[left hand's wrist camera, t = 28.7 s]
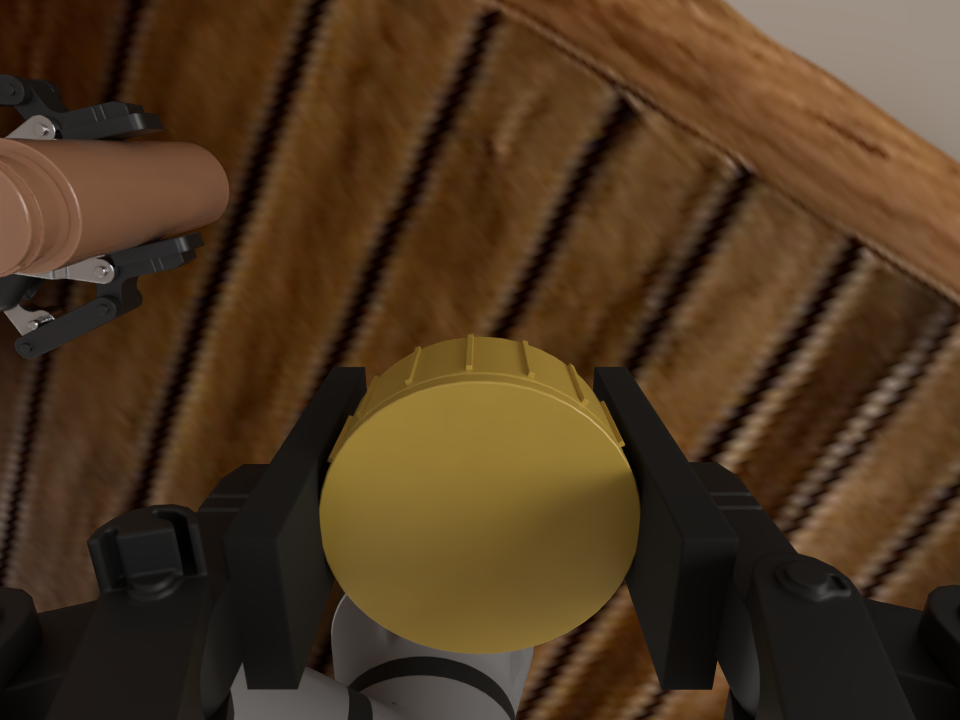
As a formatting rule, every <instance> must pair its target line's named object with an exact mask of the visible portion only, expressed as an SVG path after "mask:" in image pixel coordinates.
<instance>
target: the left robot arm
mask: <svg viewBox="0 0 960 720" xmlns="http://www.w3.org/2000/svg"><path fill="white" fill-rule="evenodd" d="M593 392H594V394H595V396H596V397H597V399H598V400H599V402H601V401H604V402H605V404H606V406H607V408H608V410H609V412H610V415H611V417H612V419H613V421H614V423H615V425H616V427H617V429H618V431H619V433H620V435H621V437H622V439H623V442H624V444H625V446H623V447H621V448H622V450H623V453H624V455H625V457H626V459H627V461H628V463H629V466H630V468H631V470H632V473H633V475H634V477H635V480H636V484H637V488H638V492H639V496H640V504H641V514H640V524H639V534H638V542H637V550H636V554H635V556H634V559H633V562H632V564H631V567H630V569H629V571H628V573H627V574H626V576H625V580H626V583H627V586H628V589H629V592H630V595H631V598H632V601H633V604H634V607H635V610H636V613H637V616H638V619H639V622H640V625H641V628H642V631H643V634H644V637H645V640H646V643H647V646H648V649H649V652H650V655H651V658H652V661H653V664H654V667H655V670H656V673H657V676H658V679H659V682H660V685H661V688H662V690H712V687H713V681H714V676H715V670H716V665H717V660H718V662H719V664H720V667H721V669H722V671H723V673H724V675H725V677H726V680H727V682H728V684H729V686H730V688H729V693H728V699H727V704H726V709H725V714H724V719H723V720H960V586H959V585H949V586H941V587H937V588H936V589H935V590H933V591H932V592H931V593H929V595H928V598H927V601H926V604H925V607H924V610H923V611H921V610H916V609H911V608H907V607H902V606H897V605H893V604H888V603H883V602H879V601H874V600H871V599H867V598H864V597H861V595H860V593H859V591H858V590H857V588H856V587H855V586H854V584H853V583H852V582H851V580H850V579H849V578H848V577H846V576H845V575H844V574H842V573H841V572H840V571H838V570H837V569H836V568H834V567H833V566H831V565H828V564H826V563H824V562H822V561H820V560H818V559H816V558H813V557H809V556H806V555H802V554H798V553H797V552H796V550H795V549H794V548H793V546H792V545H791V544H790V543H789V541H788V540H787V539H786V537H785V536H784V535H783V534H782V532H781V531H780V530H779V528H778V527H777V526H776V525H775V523H774V522H773V521H772V519H771V518H770V517H769V516H768V514H767V513H766V512H765V510H762V509H761V505H760V504H759V503H758V501H757V500H756V499H755V498H754V496H751V492H750V491H749V490H748V489H747V487H746V486H745V485H744V483H743V482H742V481H741V480H740V478H739V477H738V476H737V475H735V474H734V473H732V472H730V471H729V470H727V469H726V468H724V467H723V466H721V465H720V464H718V463H717V462H688V460H687V459H686V457H685V456H684V454H683V453H682V451H681V450H680V448H679V447H678V445H677V444H676V442H675V440H674V439H673V437H672V436H671V434H670V433H669V431H668V430H667V428H666V427H665V425H664V424H663V422H662V421H661V419H660V418H659V416H658V415H657V413H656V412H655V410H654V409H653V407H652V406H651V404H650V402H649V401H648V399H647V398H646V396H645V395H644V393H643V392H642V390H641V389H640V387H639V386H638V384H637V383H636V381H635V380H634V378H633V377H632V375H631V374H630V372H629V371H628V369H627V367H595V370H594V384H593ZM366 393H367V388H366V375H365V367H333V368H332V370H331V372H330V373H329V375H328V376H327V378H326V379H325V381H324V382H323V384H322V385H321V387H320V388H319V390H318V391H317V393H316V394H315V396H314V397H313V399H312V400H311V402H310V403H309V405H308V406H307V408H306V410H305V411H304V413H303V414H302V416H301V417H300V419H299V420H298V422H297V423H296V425H295V426H294V428H293V429H292V431H291V432H290V434H289V435H288V437H287V438H286V440H285V441H284V443H283V444H282V446H281V448H280V449H279V451H278V452H277V454H276V455H275V457H274V458H273V460H272V461H271V463H270V464H243V465H242V466H240V467H239V468H237V469H235V470H234V471H232V472H231V473H229V474H228V475H226V476H225V477H223V478H222V479H221V480H220V482H219V483H218V484H217V485H216V487H215V488H214V489H213V491H212V492H211V493H210V494H209V498H206V500H205V501H204V502H203V504H202V505H201V506H200V507H199V511H198V512H196V513H194V512H193V511H192V510H191V509H189V508H188V507H184V506H179V505H174V504H169V505H153V506H149V507H145V508H140V509H136V510H133V511H130V512H128V513H126V514H123V515H121V516H118V517H116V518H114V519H112V520H111V521H109V522H108V523H106V524H105V525H103V526H102V527H100V528H98V529H97V530H96V531H95V533H94V534H93V535H92V536H91V537H90V538H89V539H88V541H87V544H88V548H89V552H90V555H91V559H92V563H93V566H94V570H95V574H96V577H97V581H98V584H99V588H100V592H101V594H100V596H99V598H98V600H95V601H91V602H88V603H84V604H79V605H75V606H70V607H65V608H61V609H56V610H52V611H47V612H42V613H38V614H37V612H36V609H35V605H34V602H33V599H32V597H31V596H30V595H29V594H28V593H26V592H25V591H24V590H22V589H14V588H0V720H516V713H517V709H518V706H519V702H520V699H521V696H522V692H523V689H524V685H525V682H526V678H527V675H528V672H529V668H530V665H531V661H532V657H533V652H534V646H533V647H529V648H525V649H521V650H517V651H511V652H504V653H496V654H467V653H455V652H449V651H444V650H438V649H434V648H431V647H427V646H424V645H420V644H418V643H415V642H413V641H410V640H408V639H405V638H403V637H401V636H399V635H397V634H395V633H393V632H391V631H389V630H388V629H386V628H384V627H383V626H381V625H380V624H378V623H377V622H375V621H374V620H373V619H371V618H370V617H369V616H367V615H366V614H365V613H364V612H363V611H362V610H361V609H360V608H358V607H357V606H356V605H355V604H354V602H353V601H352V600H351V599H350V598H349V597H348V596H347V594H346V593H345V592H344V591H343V592H342V594H341V596H340V599H339V602H338V605H337V608H336V612H335V615H334V619H333V623H332V631H331V637H332V638H331V645H332V655H333V664H334V674H335V680H334V679H332V678H330V677H328V676H326V675H323V674H321V673H319V672H317V671H315V670H313V669H311V668H309V667H307V666H306V663H307V660H308V657H309V654H310V651H311V648H312V645H313V642H314V639H315V636H316V633H317V630H318V627H319V624H320V621H321V618H322V615H323V612H324V609H325V606H326V603H327V600H328V597H329V594H330V591H331V588H332V585H333V582H334V579H335V577H334V575H333V573H332V571H331V569H330V567H329V565H328V563H327V560H326V557H325V554H324V551H323V544H322V536H321V527H320V517H319V501H320V495H321V489H322V486H323V483H324V480H325V477H326V474H327V471H328V469H329V467H330V464H331V463H329V462H327V461H328V458H329V456H330V454H331V452H332V450H333V448H334V446H335V443H336V441H337V439H338V437H339V435H340V433H341V431H342V429H343V427H344V425H345V423H346V421H347V419H348V417H349V415H350V416H354V414H355V412H356V410H357V408H358V406H359V404H360V402H361V400H362V398H363V397H364V395H365V394H366Z"/></svg>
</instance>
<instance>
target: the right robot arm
mask: <svg viewBox="0 0 960 720" xmlns="http://www.w3.org/2000/svg"><path fill="white" fill-rule="evenodd" d="M60 100H61V96H60V92H59V90H58V88H57V87H56V86H55V85H54V84H53V83H52V82H50V81H46V80H39V79H25V78H20V77H18V76H13V75H4V74H0V106H11V107H15V108H16V109H17V110H18V112H19V113H20V114H21V115H22V117H23V118H24V119H25V120H26V122H25V123H23V124H22V125H21V126H20V127H18V128H17V129H16V130H14V131H13V132H12V133H11V134H9V135H8V136H7V137H5V138H28V139H83V140H124V139H129V138H133V137H137V136H142V135H146V134H151V133H155V132H159V131H163V130H164V129H163V127H162V124H161V121H160V118H159V115H158V114H150V113H144V110H143V107H142V106H140V105H135V104H130V103H122V102H114V101H112V102H108V103H104V104H99V105H95V106H90V107H86V108H82V109H77V110H73V111H69V110H68V109H67V108H66V107H65V106H64V105H63V104H62V102H61V101H60ZM201 246H204V242H203V239H202V237H201V234H200V232H195V233H190V234H185V235H181V236H176V237H171V238H166V239H162V240H157V241H154V242H150V243H147V244H144V245H140V246H137V247H133V248H130V249H127V250H123V251H120V252H116V253H113V254H109V255H106V256H103V257H99V258H96V259H92V260H89V261H86V262H82V263H79V264H75V265H72V266H68V267H65V268H62V269H58V270H55V271H51V272H48V273H44V274H37V275H25V274H18V273H16V274H10V275H8V276H4V277H0V312H3V311H4V313H5V314H6V315H7V316H8V318H9V319H10V320H11V322H12V323H13V324H14V326H15V327H16V328H17V330H18V331H19V332H20V333H21V335H22V336H21V337H19V338H17V339H16V341H15V349H16V351H17V352H18V354H19V355H21V356H22V357H24V358H27V359H33V358H35V357H38V356H40V355H42V354H44V353H46V352H48V351H50V350H52V349H54V348H56V347H59V346H61V345H63V344H65V343H67V342H69V341H71V340H73V339H75V338H77V337H79V336H81V335H83V334H85V333H87V332H89V331H91V330H93V329H95V328H97V327H99V326H101V325H103V324H105V323H107V322H109V321H111V320H113V319H115V318H117V317H119V316H121V315H123V314H125V313H127V312H129V311H131V310H133V309H135V308H137V307H139V306H140V305H141V303H142V295H141V293H140V292H139V291H138V290H137V287H136V282H137V278H138V277H139V276H140V275H145V274H150V273H155V272H160V271H164V270H169V269H174V268H177V267H180V266H182V265H185V264H187V263H189V262H191V261H192V260H193V259H195V258H196V254H195V251H194V249H195V248H198V247H201ZM46 279H75V280H82V281H88V282H95V283H96V290H97V298H96V299H94V300H92V301H90V302H88V303H86V304H84V305H82V306H80V307H78V308H76V309H74V310H72V311H70V312H67V310H65V309H60V308H59V307H56V306H48V307H39V306H37V305H35V304H34V303H33V302H32V301H31V300H32V299H33V298H34V296H35V295H36V293H37V292H38V290H39V289H40V287H41V286H42V285H43V283H44V282H45V280H46Z"/></svg>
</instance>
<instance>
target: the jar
mask: <svg viewBox="0 0 960 720" xmlns="http://www.w3.org/2000/svg"><path fill="white" fill-rule="evenodd" d="M228 200H229V183H228V179H227V176H226V174H225V171H224V169H223V167H222V166H221V164H220V163H219V161H218V160H217V159H216V158H215V157H214V156H213V155H212V154H211V153H210V152H208V151H207V150H206V149H204V148H202V147H201V146H199V145H196V144H194V143H190V142H185V141H139V140H83V139H28V138H0V277H4V276H8V275H10V274H16V273H18V274H25V275H37V274H44V273H48V272H51V271H55V270H58V269H62V268H65V267H68V266H72V265H75V264H79V263H82V262H86V261H89V260H92V259H96V258H99V257H103V256H106V255H109V254H113V253H116V252H120V251H123V250H127V249H130V248H133V247H137V246H140V245H144V244H147V243H150V242H154V241H157V240H161V239H164V238H168V237H171V236H174V235H178V234H181V233H185V232H188V231H192V230H195V229H198V228H202V227H205V226H208V225H210V224H212V223H214V222H215V221H216V220H218V219H219V218H220V216H221V215H222V214H223V212H224V211H225V209H226V207H227V204H228Z"/></svg>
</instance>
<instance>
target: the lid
mask: <svg viewBox="0 0 960 720" xmlns="http://www.w3.org/2000/svg"><path fill="white" fill-rule="evenodd" d="M623 446H625V444H624V442H623V439H622V437H621V435H620V433H619V431H618V429H617V427H616V425H615V423H614V421H613V419H612V417H611V415H610V412H609V410H608V408H607V406H606V404H605V402H604V401H601V402H599V400H598V399H597V397H596V396H595V394H594V392H593V391H592V390H591V389H590V387H589V386H588V385H587V384H586V383H585V381H584V380H583V379H582V378H581V377H580V376H579V375H578V374H577V372H576V370H575V368H574V366H573V365H572V364H569V365H568V366H567V365H566V364H564V363H563V362H561V361H560V360H558V359H557V358H556V357H554V356H552V355H550V354H548V353H546V352H544V351H542V350H540V349H538V348H535V347H532V346H529V345H528V342H527V341H524V340H522V343H521V342H516V341H511V340H507V339H501V338H490V337H473V334H468V337H467V338H460V339H453V340H447V341H443V342H440V343H437V344H433V345H430V346H427V347H425V348H423V349H421V347H420V346H419V347H417V348H415V350H414V353H411V354H410V355H408V356H406V357H405V358H403V359H402V360H400V361H398V362H397V363H395V364H394V365H393V366H392V367H390V368H389V369H388V370H387V371H385V372H384V373H383V374H382V375H381V376H380V377H378V376H377V375H376V376H375V377H374V378H373V380H372V382H371V384H370V386H369V388H368V390H367V393H366V394H365V395H364V397H363V398H362V400H361V402H360V404H359V406H358V408H357V410H356V412H355V414H354V416H350V415H349V417H348V419H347V421H346V423H345V425H344V427H343V429H342V431H341V433H340V435H339V437H338V439H337V441H336V443H335V446H334V448H333V450H332V452H331V454H330V456H329V458H328V461H327V462H329V463H331V464H330V467H329V469H328V471H327V474H326V477H325V480H324V483H323V486H322V489H321V495H320V501H319V517H320V527H321V536H322V544H323V551H324V554H325V557H326V560H327V563H328V565H329V567H330V569H331V571H332V573H333V575H334V577H335V579H336V580H337V582H338V583H339V585H340V586H341V588H342V589H343V591H344V592H345V593H346V594H347V596H348V597H349V598H350V599H351V600H352V601H353V602H354V604H355V605H356V606H357V607H358V608H360V609H361V610H362V611H363V612H364V613H365V614H366V615H367V616H369V617H370V618H371V619H373V620H374V621H375V622H377V623H378V624H380V625H381V626H383V627H384V628H386V629H388V630H389V631H391V632H393V633H395V634H397V635H399V636H401V637H403V638H405V639H408V640H410V641H413V642H415V643H418V644H420V645H424V646H427V647H431V648H434V649H438V650H444V651H449V652H455V653H467V654H496V653H504V652H511V651H517V650H521V649H525V648H529V647H533V646H536V645H539V644H542V643H545V642H548V641H550V640H553V639H555V638H557V637H559V636H561V635H563V634H565V633H567V632H569V631H571V630H572V629H574V628H575V627H577V626H579V625H580V624H582V623H583V622H585V621H586V620H587V619H588V618H590V617H591V616H592V615H594V614H595V613H596V612H597V611H598V610H599V609H600V608H601V607H602V606H603V605H604V604H605V603H606V602H607V601H608V600H609V599H610V598H611V597H612V595H613V594H614V593H615V591H616V590H617V589H618V587H619V586H620V585H621V583H622V582H623V580H624V578H625V576H626V574H627V573H628V571H629V569H630V567H631V564H632V562H633V559H634V556H635V554H636V550H637V542H638V534H639V524H640V514H641V504H640V496H639V492H638V488H637V484H636V480H635V477H634V475H633V473H632V470H631V468H630V466H629V463H628V461H627V459H626V457H625V455H624V453H623V450H622V448H621V447H623Z"/></svg>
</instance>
